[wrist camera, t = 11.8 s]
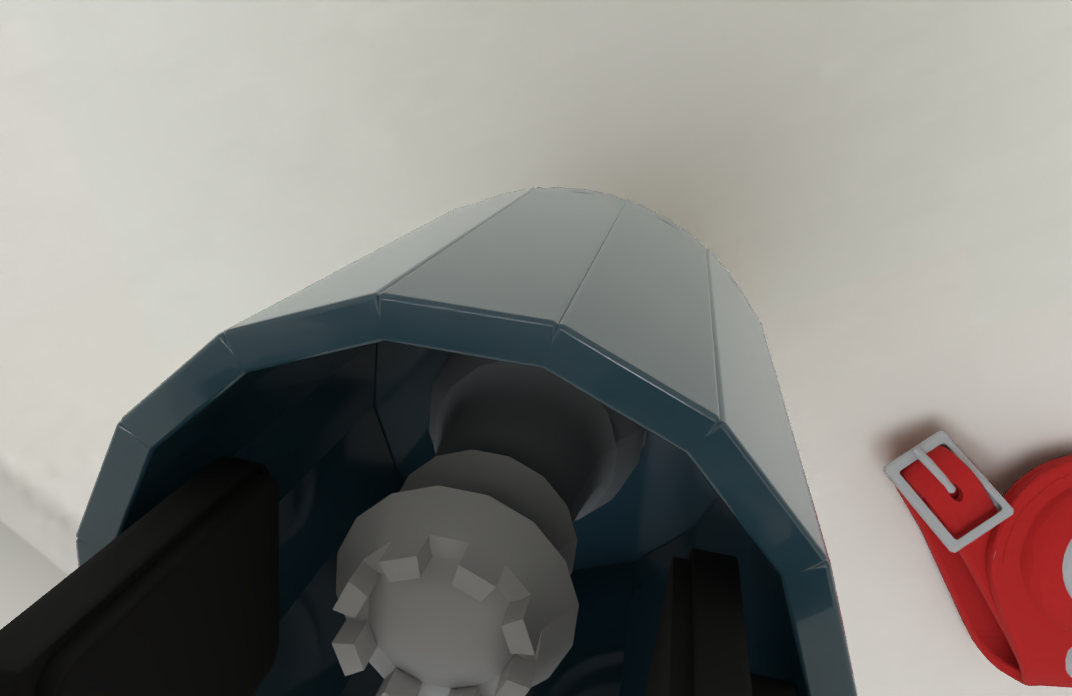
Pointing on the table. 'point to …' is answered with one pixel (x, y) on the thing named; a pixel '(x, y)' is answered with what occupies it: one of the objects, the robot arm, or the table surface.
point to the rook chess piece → (481, 536)
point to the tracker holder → (999, 554)
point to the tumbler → (527, 339)
